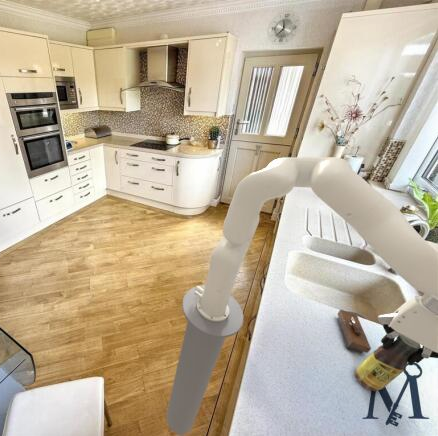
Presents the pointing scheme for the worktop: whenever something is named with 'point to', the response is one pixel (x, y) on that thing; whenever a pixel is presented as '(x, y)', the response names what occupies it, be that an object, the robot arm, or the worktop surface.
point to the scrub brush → (352, 332)
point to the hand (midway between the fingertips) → (396, 352)
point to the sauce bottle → (386, 363)
